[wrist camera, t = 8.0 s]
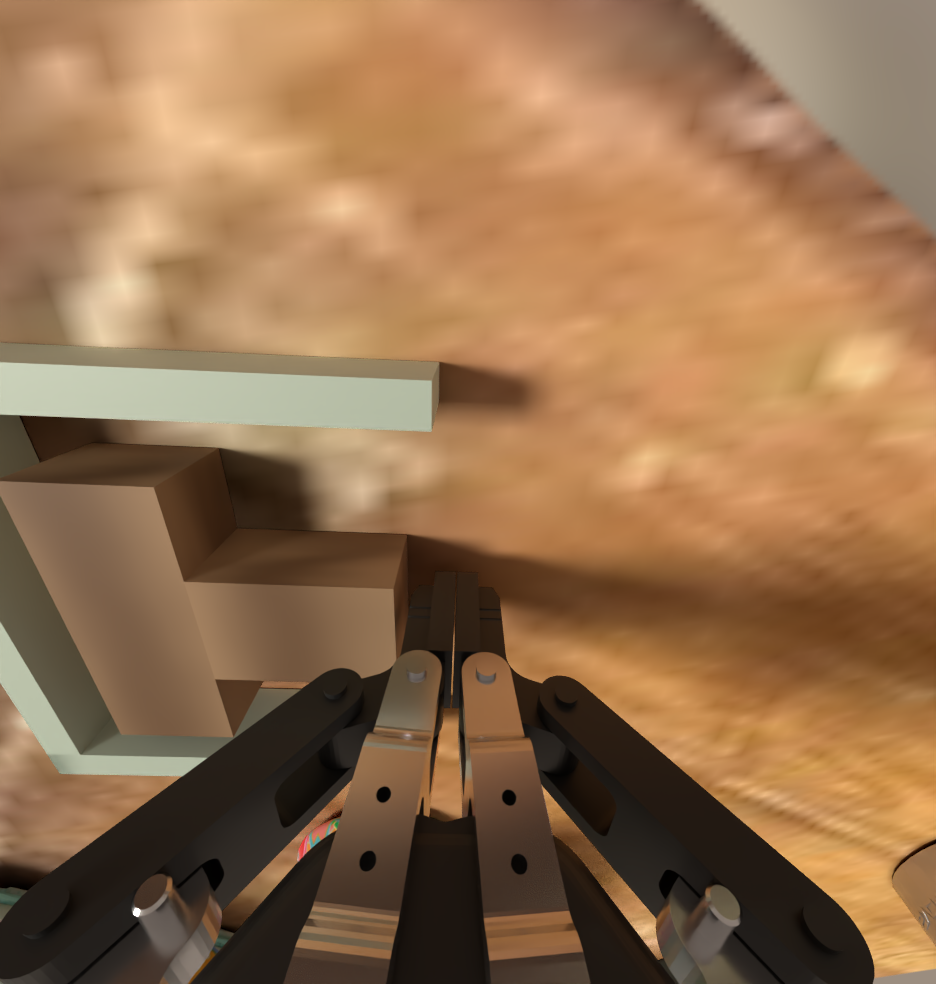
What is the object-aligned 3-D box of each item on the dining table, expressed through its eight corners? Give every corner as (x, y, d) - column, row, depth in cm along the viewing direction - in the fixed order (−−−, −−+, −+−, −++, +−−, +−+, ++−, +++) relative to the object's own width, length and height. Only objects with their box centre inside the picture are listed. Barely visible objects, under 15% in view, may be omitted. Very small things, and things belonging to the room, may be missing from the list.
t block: (405, 455, 13) (389, 496, 10) (410, 673, 17) (399, 741, 15) (91, 442, 13) (-8, 480, 10) (175, 665, 17) (121, 734, 15)
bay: (439, 362, 12) (431, 380, 9) (435, 710, 19) (430, 781, 16) (-57, 340, 12) (-218, 352, 9) (120, 703, 18) (59, 773, 16)
